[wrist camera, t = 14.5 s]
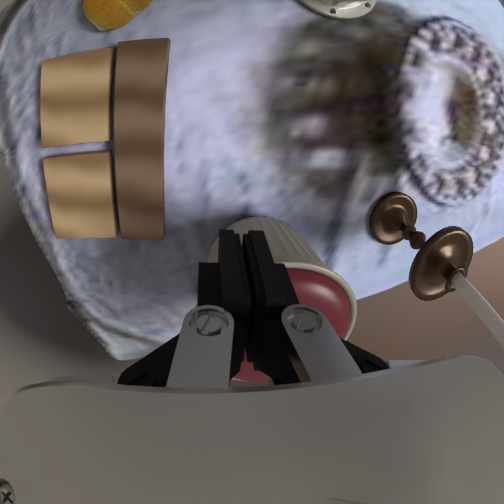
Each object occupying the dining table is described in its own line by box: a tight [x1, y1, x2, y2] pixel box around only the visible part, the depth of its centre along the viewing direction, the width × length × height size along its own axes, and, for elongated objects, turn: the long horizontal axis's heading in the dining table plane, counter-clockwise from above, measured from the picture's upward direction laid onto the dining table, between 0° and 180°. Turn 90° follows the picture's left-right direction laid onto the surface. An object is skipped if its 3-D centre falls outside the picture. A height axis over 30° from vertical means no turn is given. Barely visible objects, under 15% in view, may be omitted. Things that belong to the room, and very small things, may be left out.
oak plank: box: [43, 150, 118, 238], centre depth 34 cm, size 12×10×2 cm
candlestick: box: [369, 192, 504, 348], centre depth 29 cm, size 11×11×35 cm
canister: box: [195, 216, 357, 382], centre depth 35 cm, size 18×18×21 cm
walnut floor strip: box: [114, 38, 170, 239], centre depth 32 cm, size 26×6×2 cm, turn 174°
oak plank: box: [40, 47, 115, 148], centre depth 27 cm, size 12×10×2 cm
